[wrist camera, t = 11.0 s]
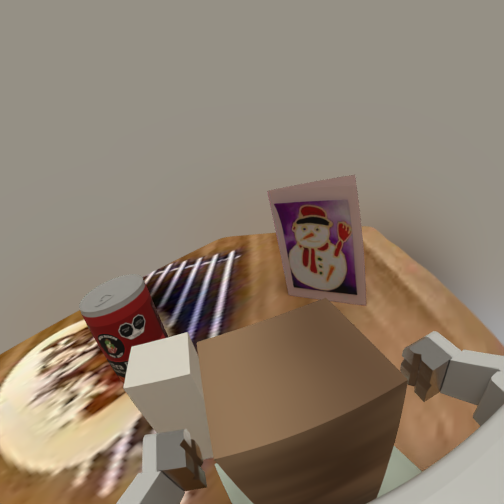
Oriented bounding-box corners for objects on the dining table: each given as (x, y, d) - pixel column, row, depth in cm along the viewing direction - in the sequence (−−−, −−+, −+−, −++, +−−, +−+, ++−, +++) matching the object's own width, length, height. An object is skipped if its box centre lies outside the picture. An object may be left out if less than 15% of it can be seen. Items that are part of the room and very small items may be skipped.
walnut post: (287, 536, 8) (213, 459, 5) (264, 471, 12) (196, 342, 9) (375, 500, 9) (407, 379, 5) (340, 442, 13) (325, 297, 9)
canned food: (112, 390, 28) (66, 314, 24) (136, 349, 36) (102, 278, 32) (167, 393, 27) (121, 308, 23) (185, 346, 34) (153, 269, 30)
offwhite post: (183, 463, 19) (123, 388, 15) (180, 424, 23) (131, 346, 19) (234, 452, 19) (190, 373, 16) (226, 414, 23) (187, 332, 20)
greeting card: (285, 298, 40) (263, 192, 35) (308, 273, 45) (291, 179, 40) (364, 309, 33) (354, 187, 28) (378, 279, 38) (370, 173, 33)
